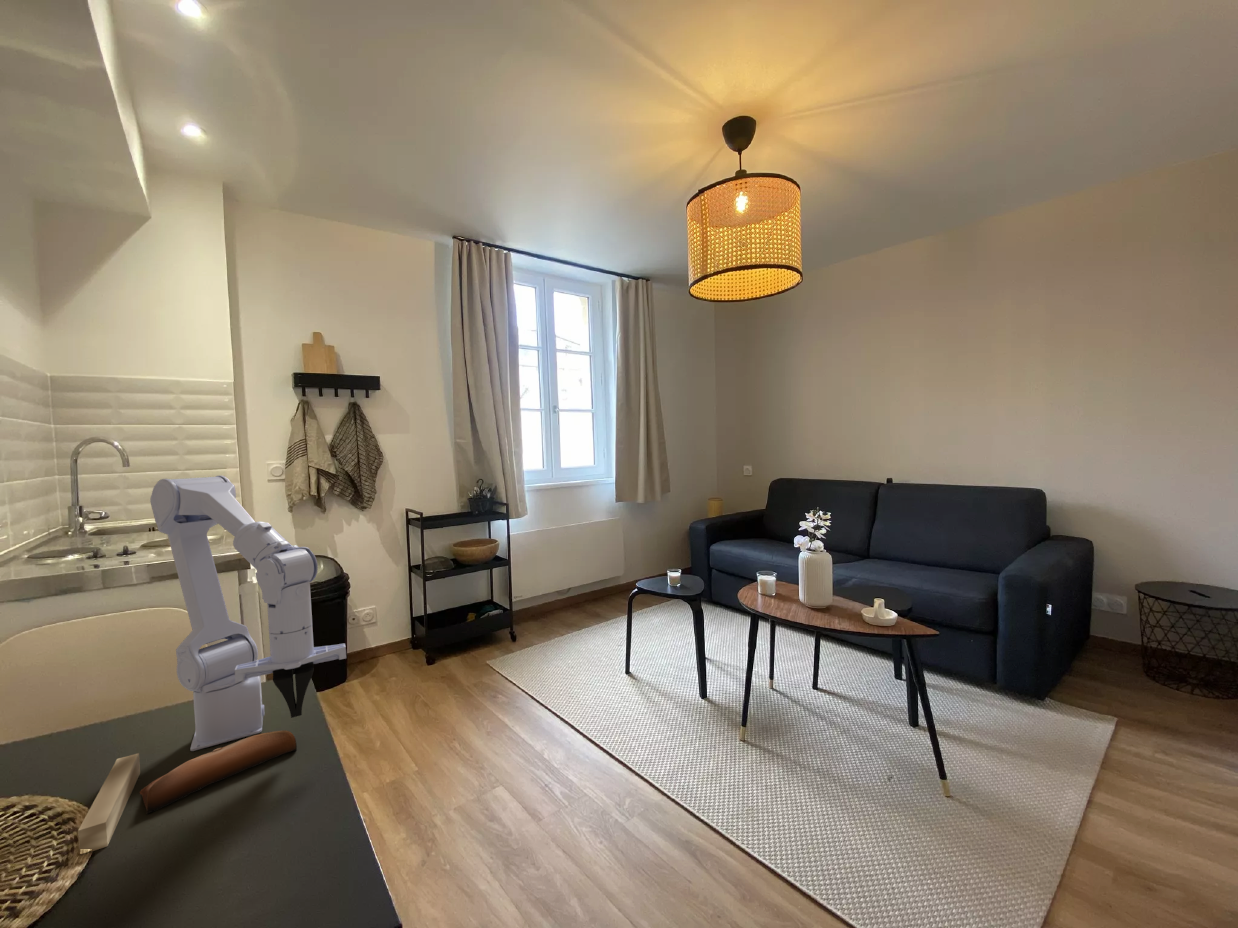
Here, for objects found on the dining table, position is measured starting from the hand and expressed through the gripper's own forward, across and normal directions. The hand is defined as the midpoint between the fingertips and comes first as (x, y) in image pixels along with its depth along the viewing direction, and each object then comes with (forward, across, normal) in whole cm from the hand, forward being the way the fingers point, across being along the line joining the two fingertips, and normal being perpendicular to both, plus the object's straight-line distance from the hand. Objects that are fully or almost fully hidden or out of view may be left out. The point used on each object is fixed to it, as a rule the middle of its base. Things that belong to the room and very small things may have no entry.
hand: (296, 713), depth 81 cm
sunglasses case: (+7, -10, +2) cm, 12 cm away
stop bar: (+6, -21, 0) cm, 22 cm away
